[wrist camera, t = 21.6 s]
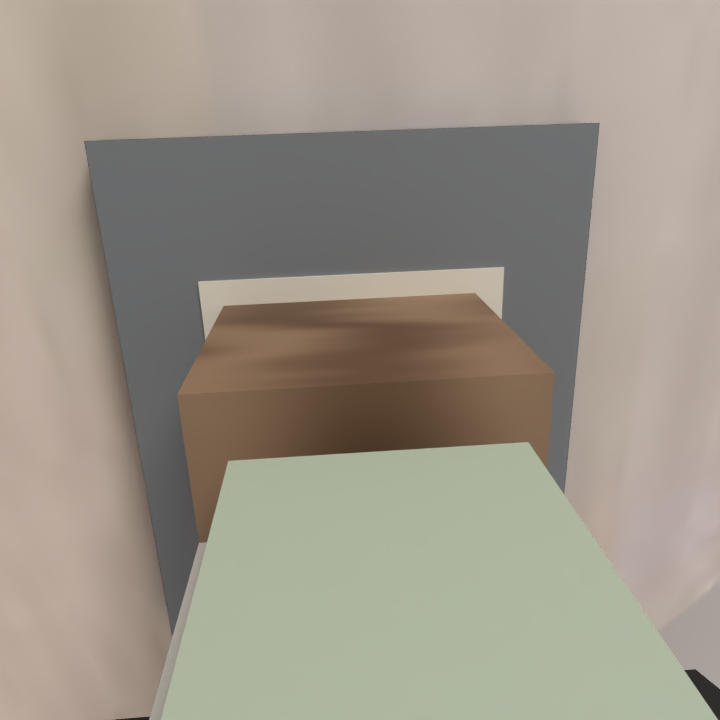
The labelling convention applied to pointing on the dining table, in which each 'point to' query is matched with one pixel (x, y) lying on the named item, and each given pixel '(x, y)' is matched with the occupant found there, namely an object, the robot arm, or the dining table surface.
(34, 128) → the dining table surface
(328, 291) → the grey flat slab
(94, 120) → the dining table surface
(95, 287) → the dining table surface
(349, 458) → the sage brick
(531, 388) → the walnut block
